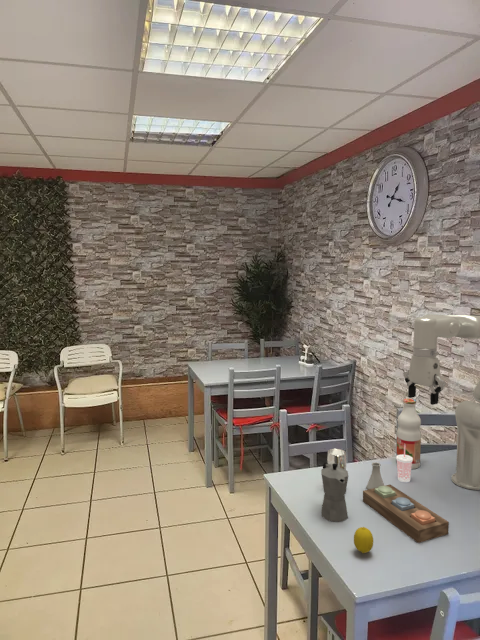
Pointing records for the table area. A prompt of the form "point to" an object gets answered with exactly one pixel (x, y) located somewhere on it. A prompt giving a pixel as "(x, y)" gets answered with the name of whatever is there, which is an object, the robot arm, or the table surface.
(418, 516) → the terracotta button
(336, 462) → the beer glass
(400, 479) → the beverage cup
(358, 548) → the lemon
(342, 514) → the coffeepot
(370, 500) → the button panel
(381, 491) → the sage green button
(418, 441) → the fruit juice
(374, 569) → the table surface
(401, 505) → the slate blue button
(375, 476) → the flask
